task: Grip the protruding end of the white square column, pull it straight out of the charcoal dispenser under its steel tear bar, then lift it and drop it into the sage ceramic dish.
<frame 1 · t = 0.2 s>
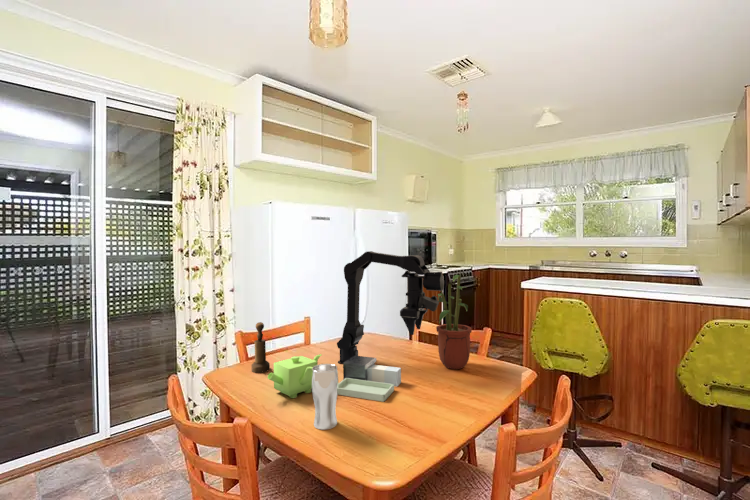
hand: (415, 331, 140), 14 cm above the table, fingers open, 9 cm apart
beer glass: (325, 425, 100), on the table
dish: (363, 392, 121), on the table
dark turned peg: (260, 370, 143), on the table
potted plant: (447, 366, 145), on the table
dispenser: (359, 379, 132), on the table
white square column: (380, 382, 129), on the table
kettle: (297, 392, 122), on the table
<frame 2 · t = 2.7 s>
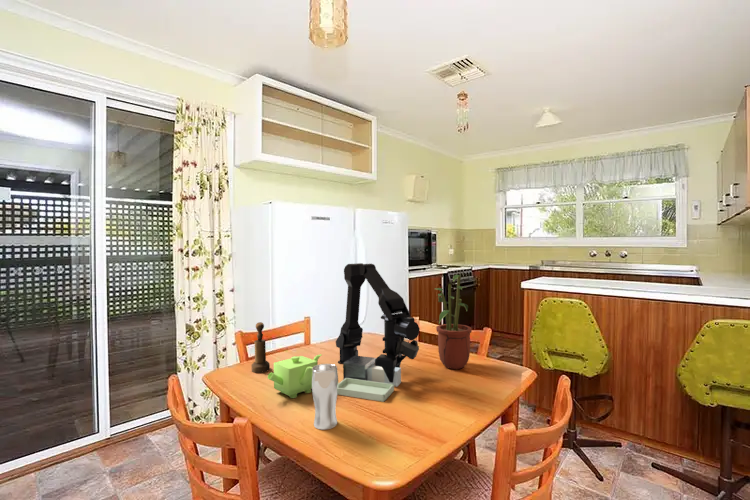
hand: (393, 380, 128), 1 cm above the table, fingers closed on white square column, 4 cm apart
white square column: (380, 381, 129), on the table, touching gripper
everything else where it was.
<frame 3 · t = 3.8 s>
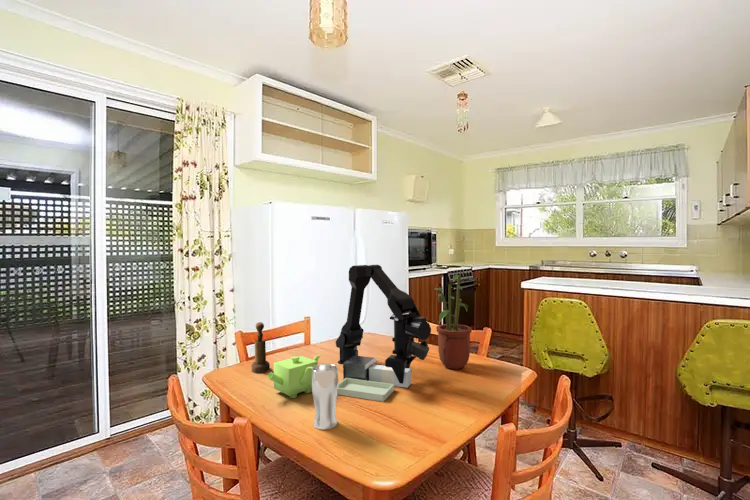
hand: (403, 381, 126), 1 cm above the table, fingers closed on white square column, 4 cm apart
white square column: (389, 383, 128), on the table, touching gripper
everything else where it was.
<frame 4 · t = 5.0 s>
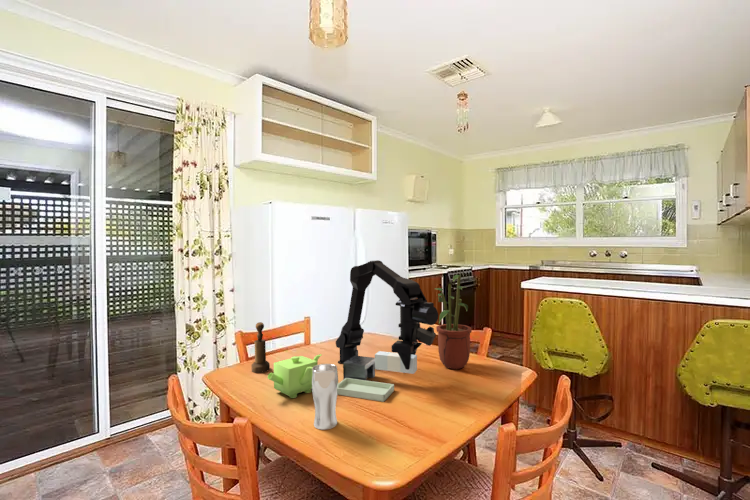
hand: (409, 367, 125), 6 cm above the table, fingers closed on white square column, 4 cm apart
white square column: (395, 369, 127), point 5 cm above the table, touching gripper
everything else where it was.
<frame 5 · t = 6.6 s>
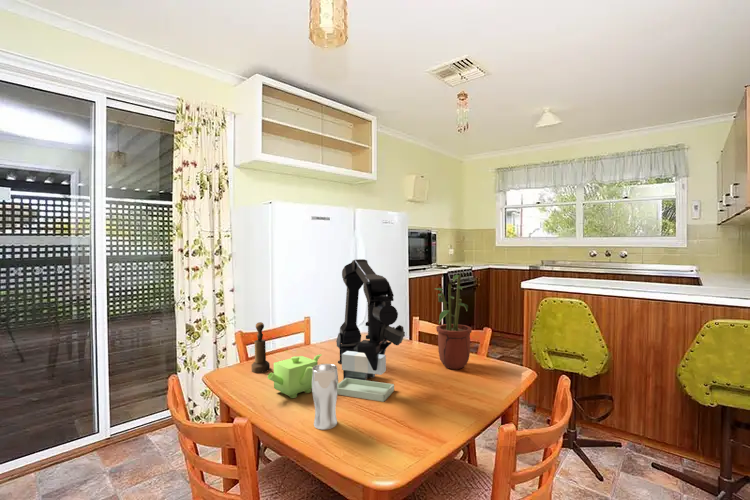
hand: (377, 368, 119), 8 cm above the table, fingers closed on white square column, 4 cm apart
white square column: (363, 370, 121), point 7 cm above the table, touching gripper
everything else where it was.
when the fingers open (4 cm above the table, at t = 7.6 s): white square column drops 2 cm, resting on dish.
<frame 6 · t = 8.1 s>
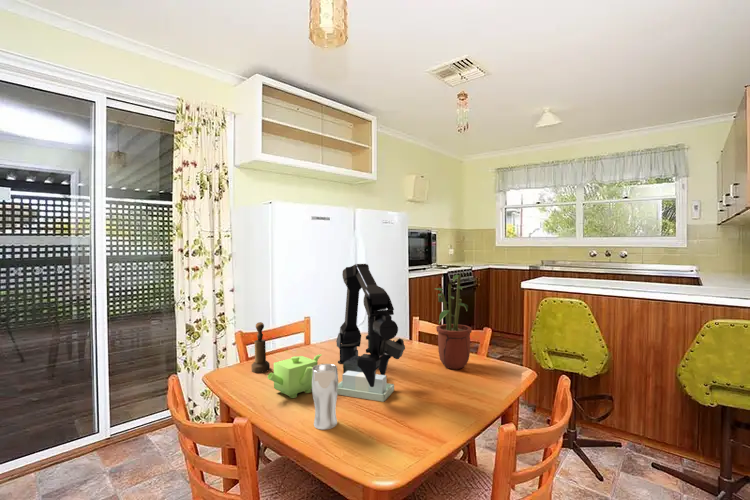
hand: (377, 381, 119), 4 cm above the table, fingers open, 9 cm apart
white square column: (364, 390, 121), resting on dish
everything else where it was.
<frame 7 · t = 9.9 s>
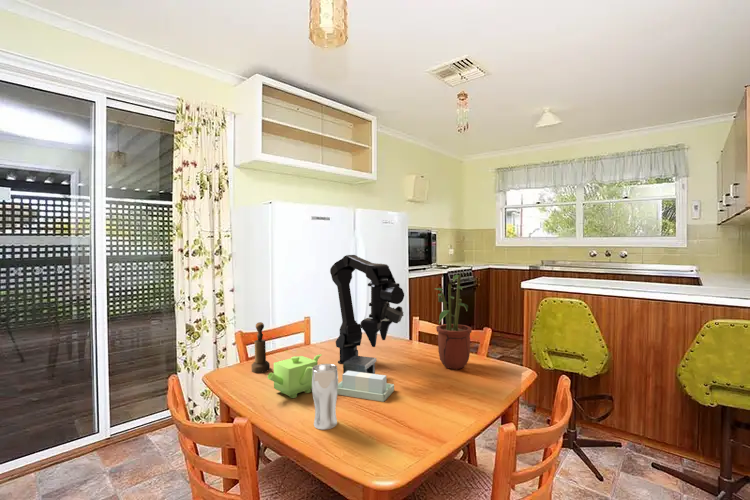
hand: (378, 343, 135), 12 cm above the table, fingers open, 9 cm apart
nothing on the table moved.
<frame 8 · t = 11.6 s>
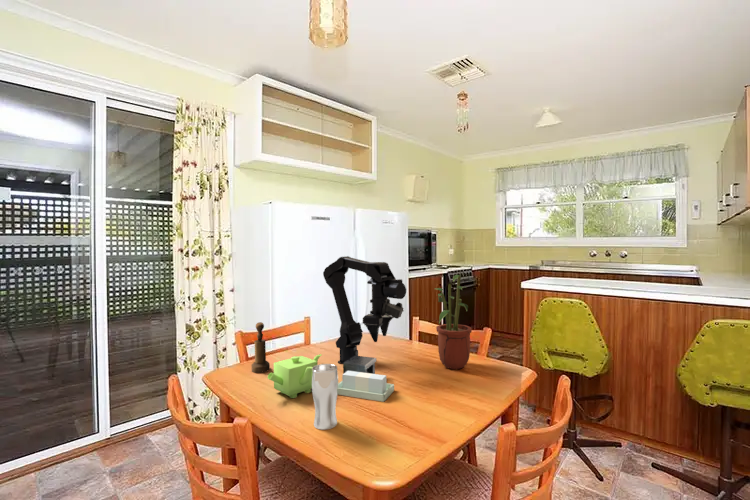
hand: (380, 338, 140), 12 cm above the table, fingers open, 9 cm apart
nothing on the table moved.
at the end: white square column inside the target area on the dish (0.2 cm from its centre), point 0.5 cm above the dish's base; white square column touching dish; the gripper is holding nothing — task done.
